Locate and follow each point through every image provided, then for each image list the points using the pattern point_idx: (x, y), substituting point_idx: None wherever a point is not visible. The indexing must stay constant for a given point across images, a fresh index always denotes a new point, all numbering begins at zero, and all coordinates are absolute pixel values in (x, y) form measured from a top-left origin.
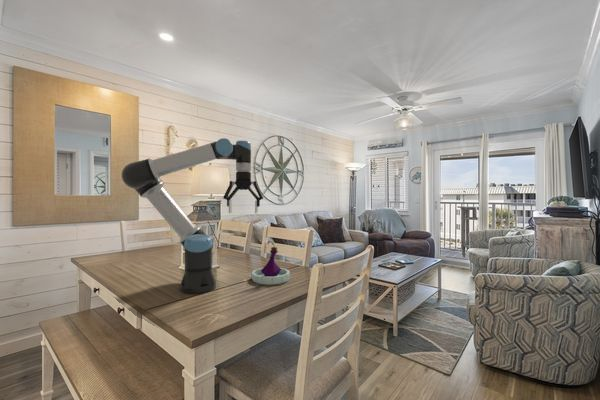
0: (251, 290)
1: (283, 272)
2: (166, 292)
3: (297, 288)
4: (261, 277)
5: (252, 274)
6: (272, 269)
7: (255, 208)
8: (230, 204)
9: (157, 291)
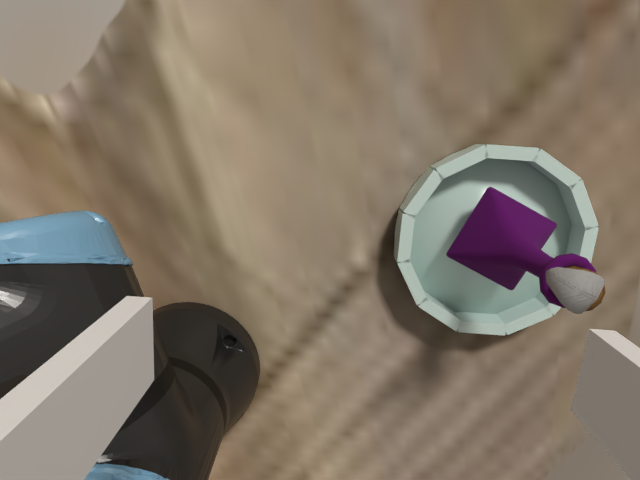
0: (410, 386)
1: (558, 183)
2: None
3: None
4: (452, 327)
5: (402, 274)
6: (513, 283)
7: (630, 468)
8: (76, 477)
9: None
